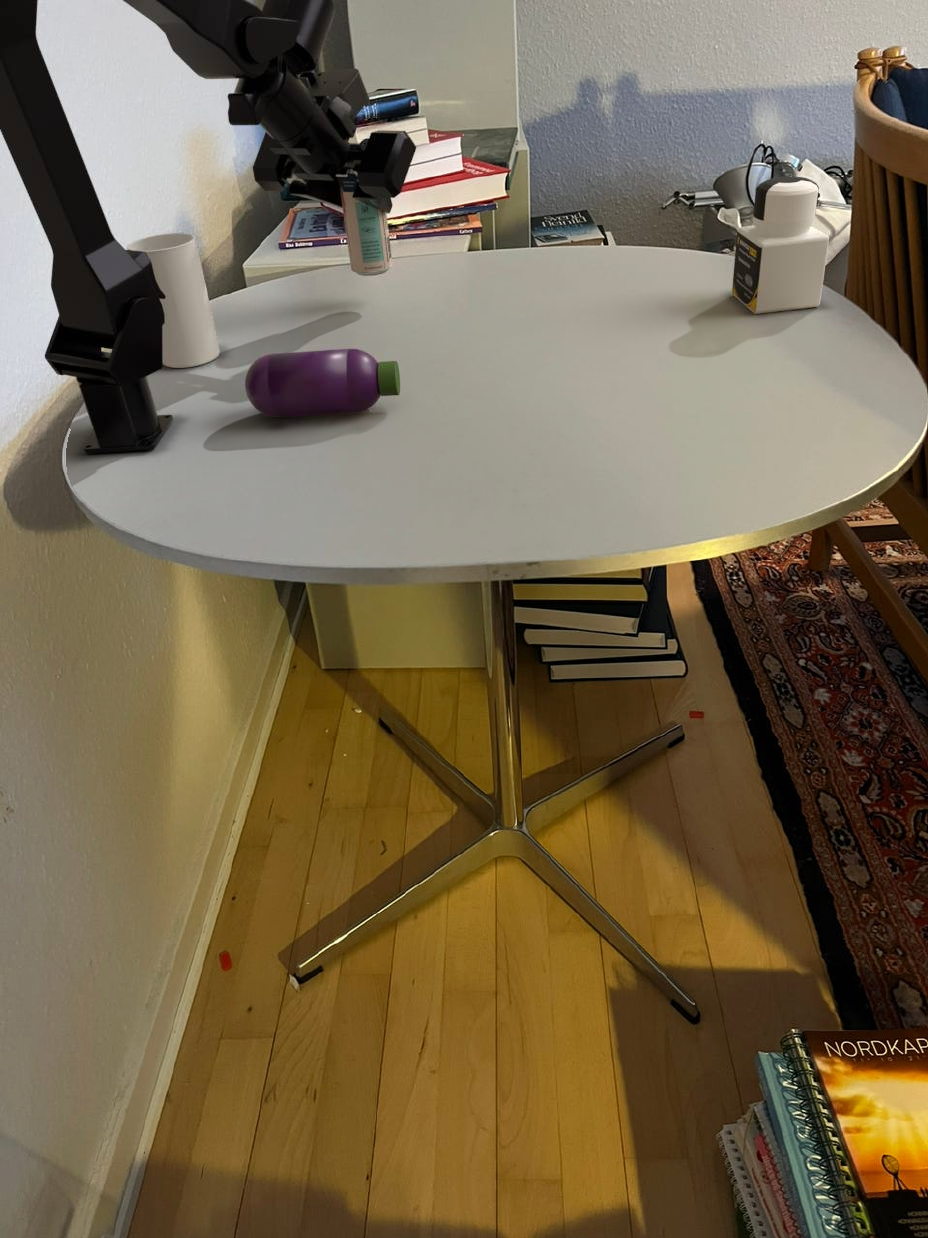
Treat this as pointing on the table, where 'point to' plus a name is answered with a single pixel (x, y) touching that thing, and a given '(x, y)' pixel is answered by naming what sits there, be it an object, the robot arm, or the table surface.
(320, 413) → the eggplant
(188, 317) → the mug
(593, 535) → the table surface
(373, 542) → the table surface
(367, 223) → the pink upright cylinder
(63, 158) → the robot arm
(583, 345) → the table surface
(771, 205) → the medicine bottle
